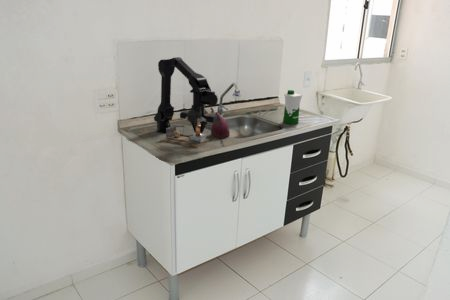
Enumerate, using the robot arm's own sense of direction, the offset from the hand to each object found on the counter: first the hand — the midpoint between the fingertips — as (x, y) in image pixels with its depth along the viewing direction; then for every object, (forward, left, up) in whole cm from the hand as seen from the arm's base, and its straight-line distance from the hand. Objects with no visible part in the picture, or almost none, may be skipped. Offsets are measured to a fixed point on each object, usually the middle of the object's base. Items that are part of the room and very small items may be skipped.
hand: (198, 133), depth 184 cm
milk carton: (+31, +66, -6) cm, 73 cm away
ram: (0, 0, -4) cm, 4 cm away
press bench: (-7, 0, -6) cm, 9 cm away
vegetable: (+4, +18, -6) cm, 19 cm away
